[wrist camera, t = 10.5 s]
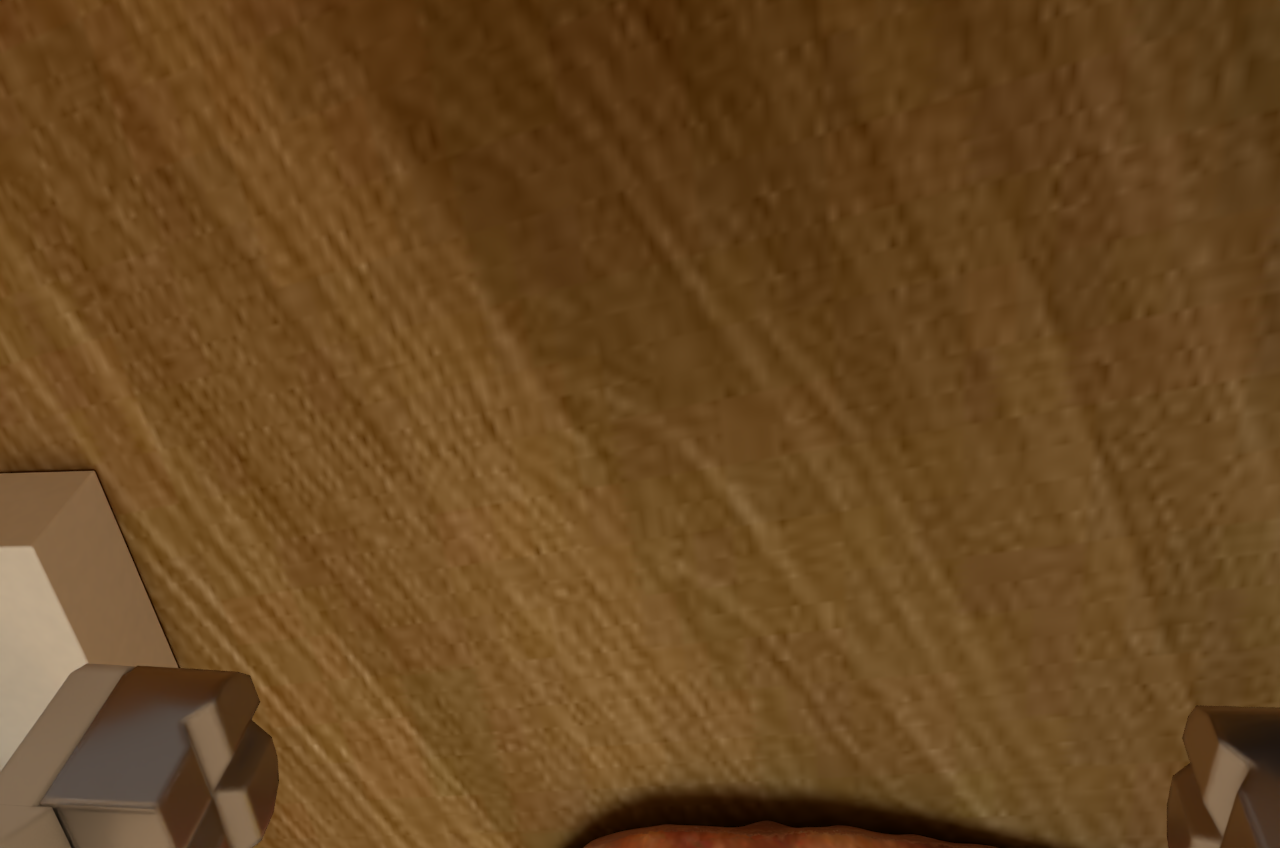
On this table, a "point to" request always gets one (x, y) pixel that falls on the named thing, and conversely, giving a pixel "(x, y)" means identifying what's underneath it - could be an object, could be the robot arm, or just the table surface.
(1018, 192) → the table surface
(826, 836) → the slice of bread
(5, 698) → the panel
